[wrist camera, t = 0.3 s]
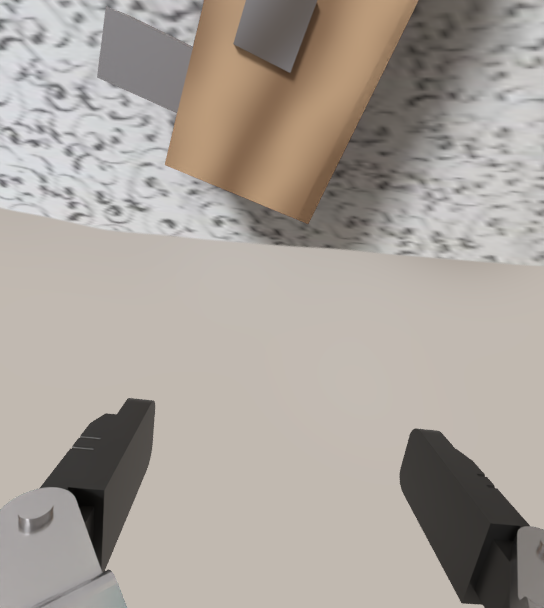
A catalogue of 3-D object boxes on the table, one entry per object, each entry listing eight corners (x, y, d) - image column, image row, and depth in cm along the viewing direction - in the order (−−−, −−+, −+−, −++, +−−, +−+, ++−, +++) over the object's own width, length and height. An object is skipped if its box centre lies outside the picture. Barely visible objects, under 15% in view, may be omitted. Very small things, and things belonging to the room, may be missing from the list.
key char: (119, 76, 27) (97, 77, 24) (128, 15, 25) (105, 6, 22) (241, 132, 29) (237, 139, 26) (259, 79, 27) (257, 80, 24)
